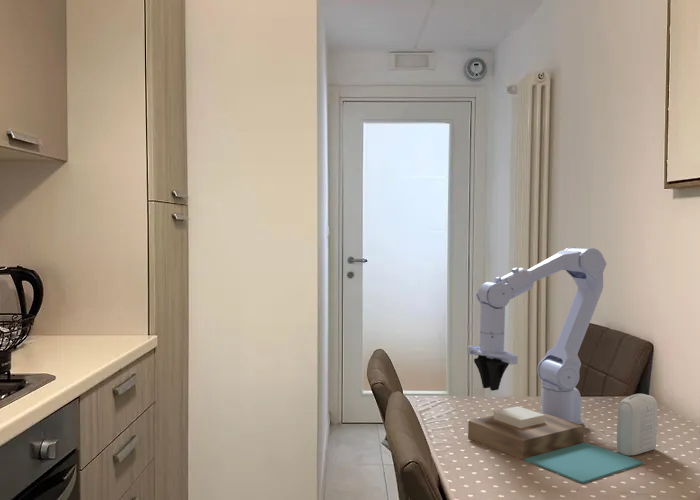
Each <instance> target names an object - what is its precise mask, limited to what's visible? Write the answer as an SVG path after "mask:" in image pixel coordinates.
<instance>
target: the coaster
mask: <svg viewBox="0 0 700 500" xmlns="http://www.w3.org/2000/svg"><path fill="white" fill-rule="evenodd" d="M493 415H494V419H496V420H498V421H501V422H504V423H507V424H510V425H513V426H516V427H518V428H524V427H528V426H533V425H537V424H541V423H545V415H544V414H541V413H537V412H534V411H531V410H528V409H527V408H524V407H522V406H512V407H507V408H503V409H498V410H494V411H493Z"/></svg>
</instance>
